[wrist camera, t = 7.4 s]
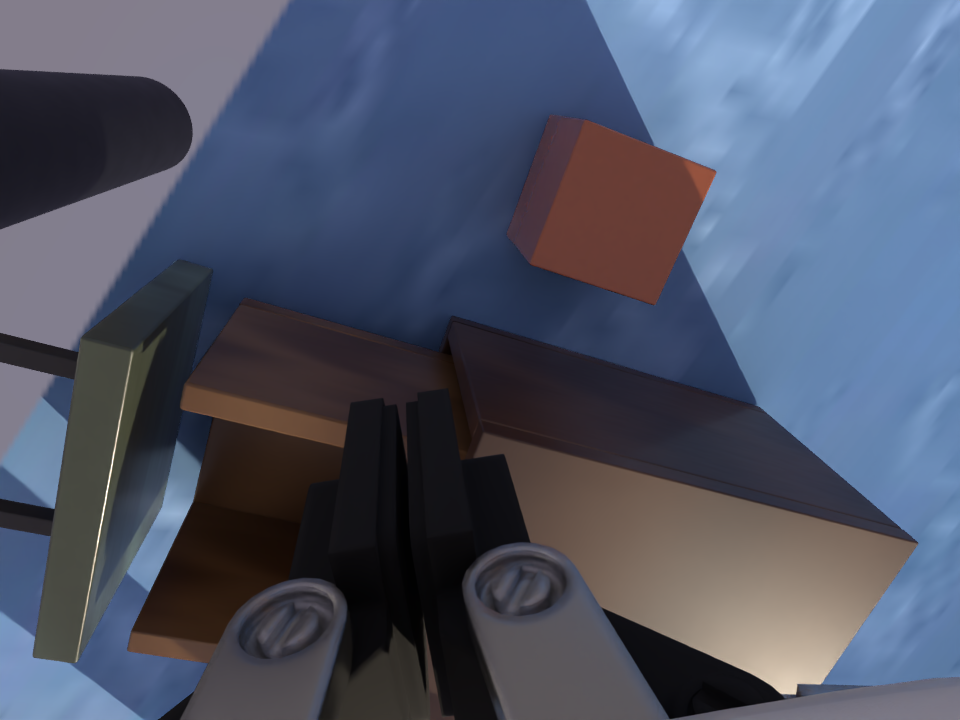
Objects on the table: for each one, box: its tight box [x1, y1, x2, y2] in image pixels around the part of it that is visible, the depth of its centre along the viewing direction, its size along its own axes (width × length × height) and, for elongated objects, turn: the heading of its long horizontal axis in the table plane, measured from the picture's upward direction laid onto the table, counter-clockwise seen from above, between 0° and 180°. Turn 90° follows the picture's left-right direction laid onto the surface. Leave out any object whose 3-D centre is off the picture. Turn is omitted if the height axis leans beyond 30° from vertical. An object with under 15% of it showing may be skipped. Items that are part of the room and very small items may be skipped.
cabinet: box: [426, 316, 918, 720], centre depth 24 cm, size 14×11×9 cm
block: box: [506, 114, 716, 305], centre depth 22 cm, size 4×4×4 cm
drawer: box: [0, 260, 472, 663], centre depth 21 cm, size 18×10×8 cm, turn 71°
